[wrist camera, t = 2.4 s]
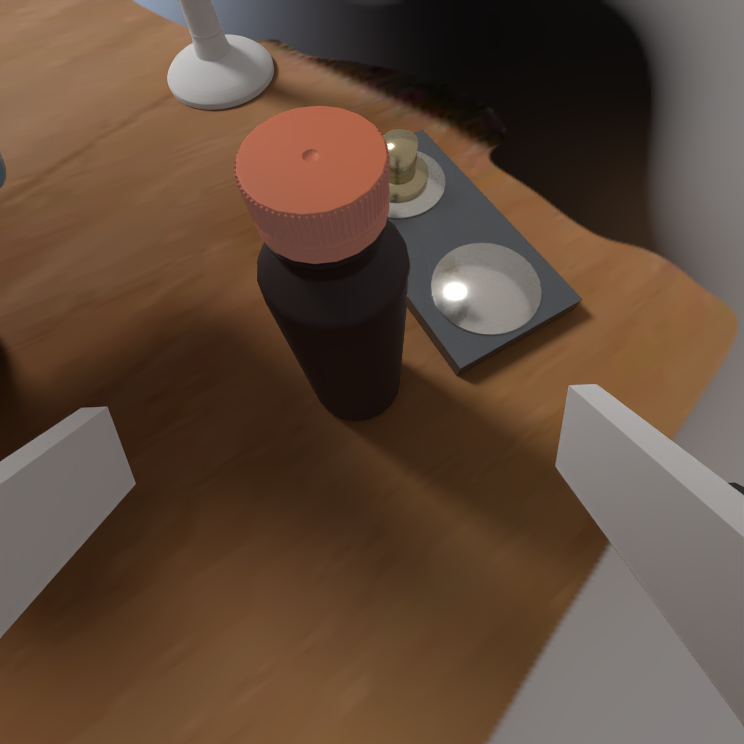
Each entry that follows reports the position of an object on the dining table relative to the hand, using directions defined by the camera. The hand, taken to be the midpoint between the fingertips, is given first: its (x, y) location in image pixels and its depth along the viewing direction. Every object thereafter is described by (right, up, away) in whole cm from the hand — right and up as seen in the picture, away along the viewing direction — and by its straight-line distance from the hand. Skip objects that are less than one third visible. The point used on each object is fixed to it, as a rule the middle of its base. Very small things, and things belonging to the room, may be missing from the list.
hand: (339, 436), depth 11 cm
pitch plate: (+7, +14, +24) cm, 29 cm away
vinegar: (0, +1, +19) cm, 19 cm away
